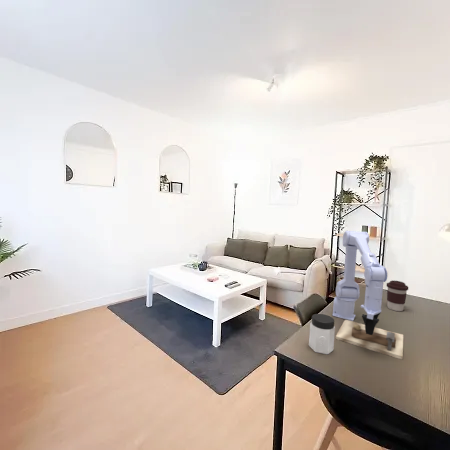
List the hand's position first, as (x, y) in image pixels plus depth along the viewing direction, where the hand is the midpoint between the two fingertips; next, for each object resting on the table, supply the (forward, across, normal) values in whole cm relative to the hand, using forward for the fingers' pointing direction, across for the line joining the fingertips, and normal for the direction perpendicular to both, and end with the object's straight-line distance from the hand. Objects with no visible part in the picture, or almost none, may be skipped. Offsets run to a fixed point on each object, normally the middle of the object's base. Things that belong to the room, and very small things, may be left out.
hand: (370, 330), depth 103 cm
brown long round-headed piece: (+5, -3, +1) cm, 6 cm away
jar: (+7, +14, -15) cm, 21 cm away
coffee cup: (+7, -53, +7) cm, 54 cm away
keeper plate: (+7, -7, 0) cm, 10 cm away
